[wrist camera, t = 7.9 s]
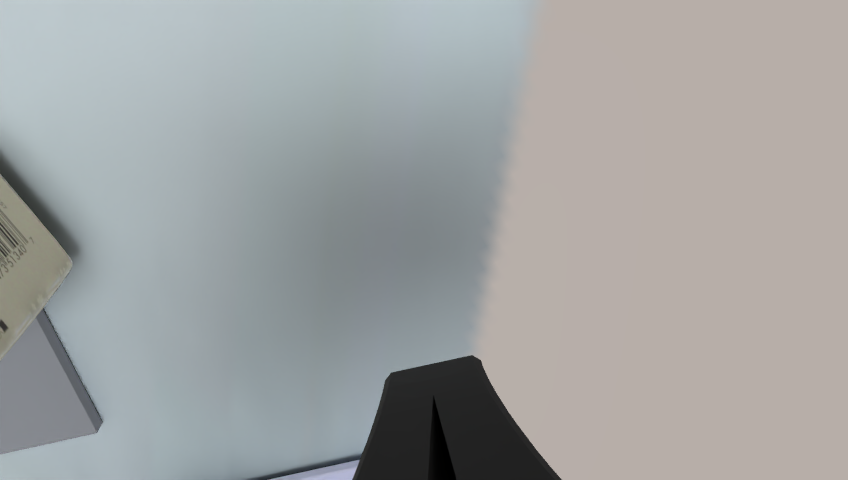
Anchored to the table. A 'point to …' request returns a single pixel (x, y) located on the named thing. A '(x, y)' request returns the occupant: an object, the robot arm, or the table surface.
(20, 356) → the mat
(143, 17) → the table surface
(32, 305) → the box
